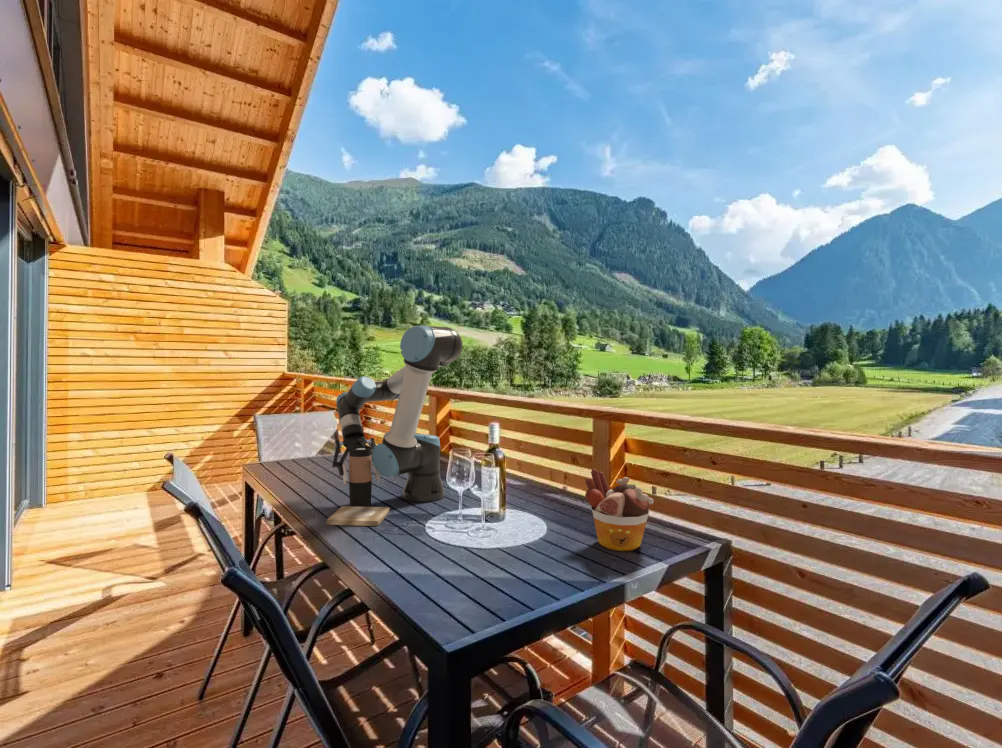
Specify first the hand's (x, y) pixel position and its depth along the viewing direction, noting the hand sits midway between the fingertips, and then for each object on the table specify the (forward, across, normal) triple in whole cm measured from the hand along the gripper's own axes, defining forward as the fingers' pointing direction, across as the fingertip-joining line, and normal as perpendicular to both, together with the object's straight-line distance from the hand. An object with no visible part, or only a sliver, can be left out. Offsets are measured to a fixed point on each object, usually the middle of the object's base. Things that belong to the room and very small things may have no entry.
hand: (362, 480), depth 174 cm
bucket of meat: (+54, -55, +40) cm, 87 cm away
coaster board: (+14, +4, +2) cm, 15 cm away
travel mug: (+4, 0, -9) cm, 10 cm away
